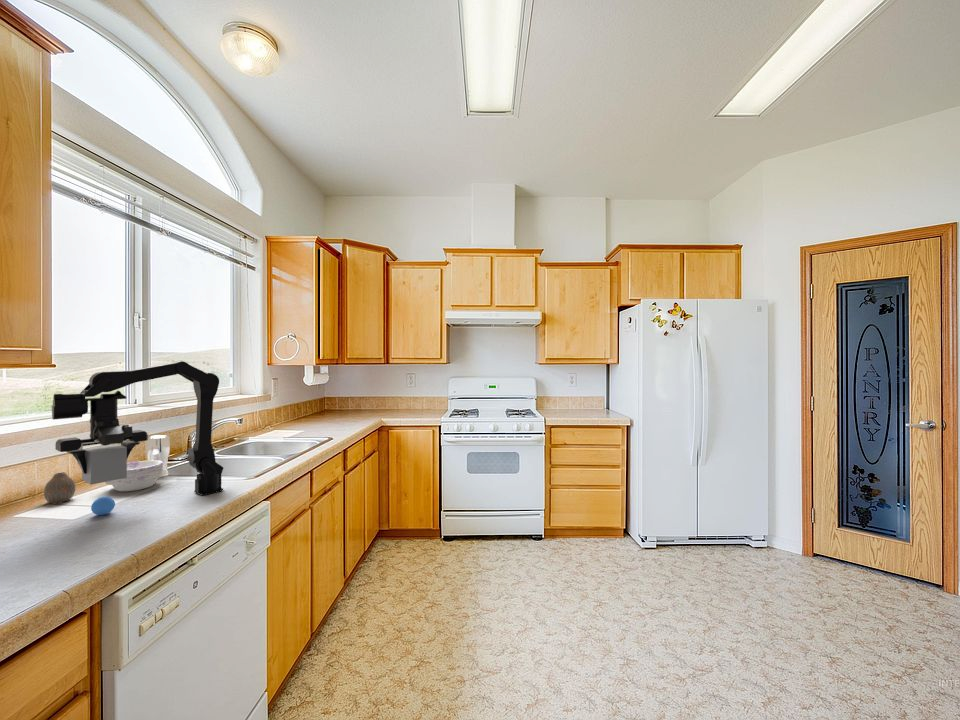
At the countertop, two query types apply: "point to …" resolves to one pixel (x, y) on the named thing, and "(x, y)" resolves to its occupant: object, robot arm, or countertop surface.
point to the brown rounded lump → (59, 488)
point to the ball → (103, 505)
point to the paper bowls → (139, 476)
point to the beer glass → (159, 450)
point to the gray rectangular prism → (105, 463)
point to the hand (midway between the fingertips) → (104, 470)
